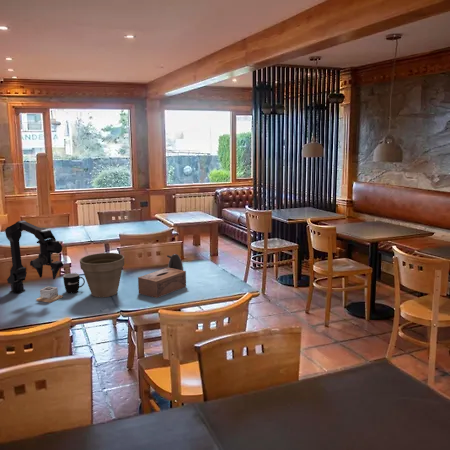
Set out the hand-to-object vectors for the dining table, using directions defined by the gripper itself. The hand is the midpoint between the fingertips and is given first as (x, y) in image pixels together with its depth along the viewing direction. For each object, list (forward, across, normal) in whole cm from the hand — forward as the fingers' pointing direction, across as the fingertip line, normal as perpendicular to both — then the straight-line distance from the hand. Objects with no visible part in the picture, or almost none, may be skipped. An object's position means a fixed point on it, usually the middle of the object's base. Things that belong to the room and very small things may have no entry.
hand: (47, 278), depth 274 cm
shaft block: (+12, +1, -1) cm, 12 cm away
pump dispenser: (+12, +49, +62) cm, 80 cm away
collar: (+11, +1, -1) cm, 11 cm away
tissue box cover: (+12, +54, +36) cm, 66 cm away
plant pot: (+12, +25, +17) cm, 33 cm away
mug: (+12, +6, +15) cm, 20 cm away
